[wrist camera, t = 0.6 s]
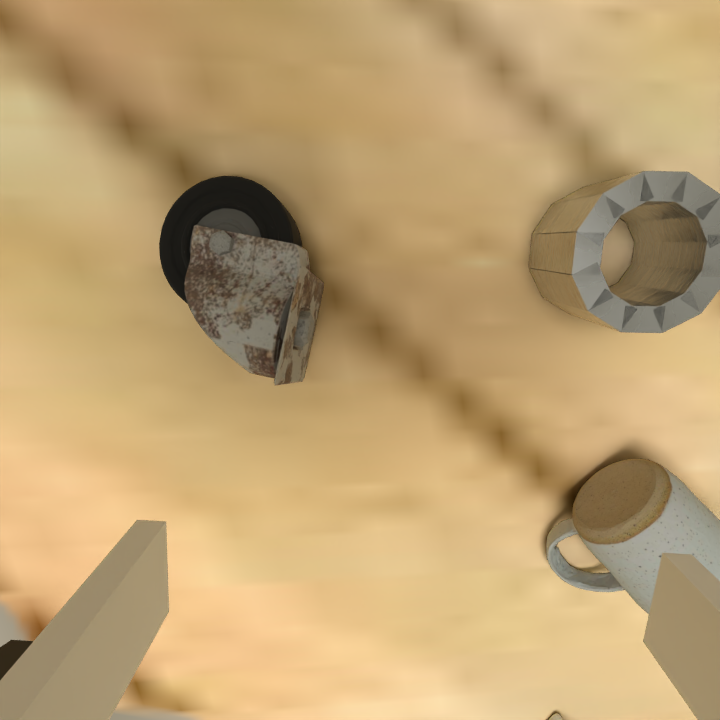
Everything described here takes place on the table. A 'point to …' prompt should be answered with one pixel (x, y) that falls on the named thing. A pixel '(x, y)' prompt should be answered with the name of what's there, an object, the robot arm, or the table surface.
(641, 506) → the ceramic mug
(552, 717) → the spoon rest
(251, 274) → the caster wheel
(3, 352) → the table surface
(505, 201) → the table surface
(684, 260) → the tube
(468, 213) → the table surface
